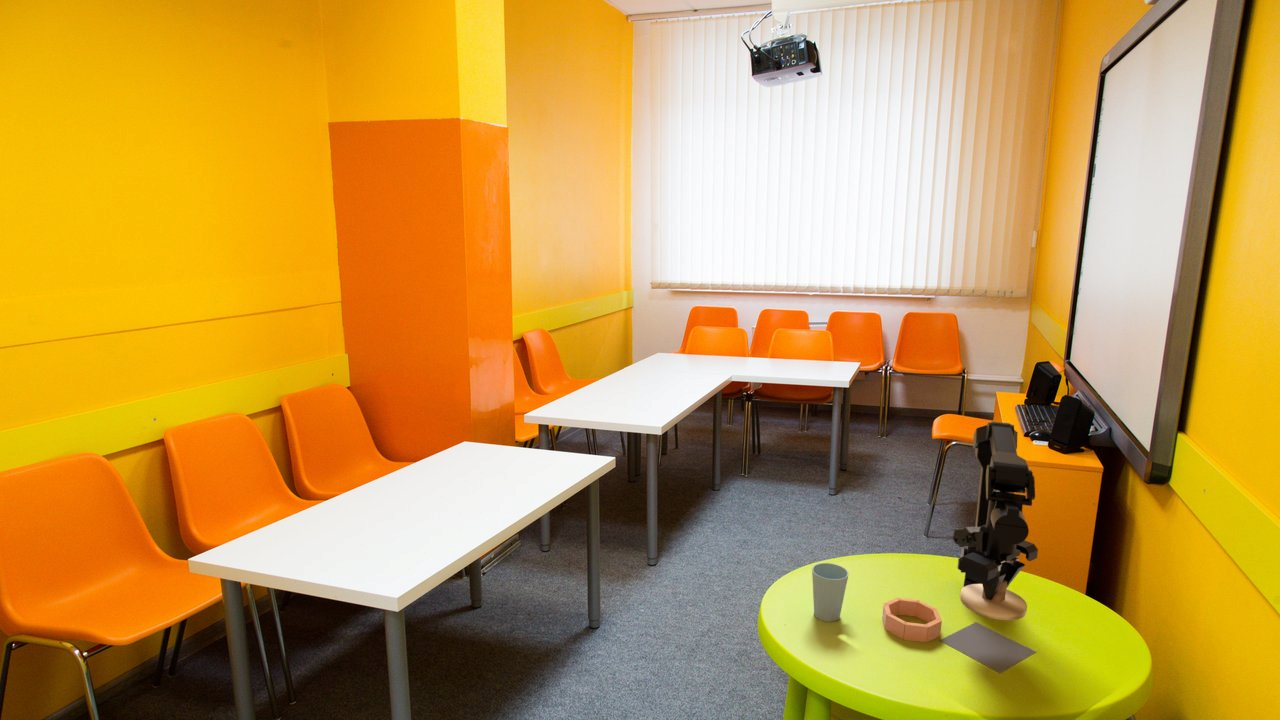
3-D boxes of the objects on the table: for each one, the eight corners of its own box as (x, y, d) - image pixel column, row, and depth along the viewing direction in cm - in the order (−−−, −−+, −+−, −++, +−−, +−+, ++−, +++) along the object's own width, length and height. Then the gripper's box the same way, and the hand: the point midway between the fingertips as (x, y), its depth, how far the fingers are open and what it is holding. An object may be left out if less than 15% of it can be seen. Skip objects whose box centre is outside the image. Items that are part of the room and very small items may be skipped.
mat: (975, 627, 159) (976, 621, 159) (1035, 657, 149) (1036, 651, 148) (938, 645, 152) (939, 640, 152) (999, 678, 141) (1000, 673, 141)
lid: (981, 583, 156) (984, 560, 155) (1038, 609, 147) (1041, 584, 146) (947, 599, 150) (950, 575, 149) (1004, 626, 140) (1008, 601, 139)
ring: (904, 612, 164) (906, 593, 164) (948, 635, 156) (951, 616, 155) (871, 626, 158) (873, 607, 158) (916, 652, 150) (918, 631, 149)
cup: (852, 620, 161) (856, 575, 159) (823, 627, 158) (827, 582, 156) (830, 603, 168) (833, 560, 166) (802, 610, 165) (805, 566, 163)
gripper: (990, 500, 157) (982, 569, 160) (937, 519, 146) (929, 592, 149) (1043, 519, 148) (1033, 591, 151) (990, 540, 137) (981, 617, 140)
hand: (993, 597), depth 148 cm, fingers closed on lid, 3 cm apart
